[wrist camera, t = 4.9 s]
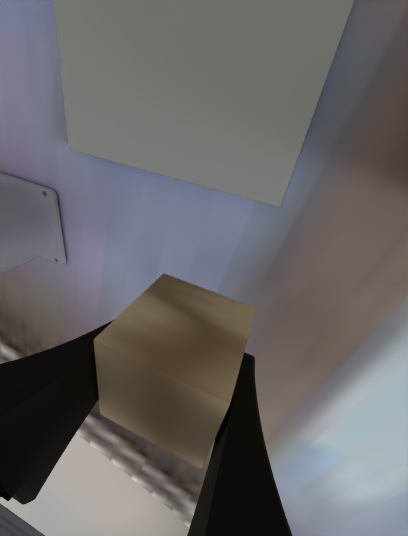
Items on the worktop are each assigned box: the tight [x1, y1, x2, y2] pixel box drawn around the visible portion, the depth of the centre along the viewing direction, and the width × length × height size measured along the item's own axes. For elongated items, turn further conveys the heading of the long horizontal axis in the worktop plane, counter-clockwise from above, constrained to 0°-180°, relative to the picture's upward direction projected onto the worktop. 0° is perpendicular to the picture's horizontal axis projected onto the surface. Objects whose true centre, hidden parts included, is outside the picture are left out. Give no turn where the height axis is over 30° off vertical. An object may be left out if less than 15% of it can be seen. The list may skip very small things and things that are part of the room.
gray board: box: [53, 0, 354, 207], centre depth 13 cm, size 16×12×1 cm
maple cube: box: [94, 274, 256, 469], centre depth 11 cm, size 5×5×5 cm
